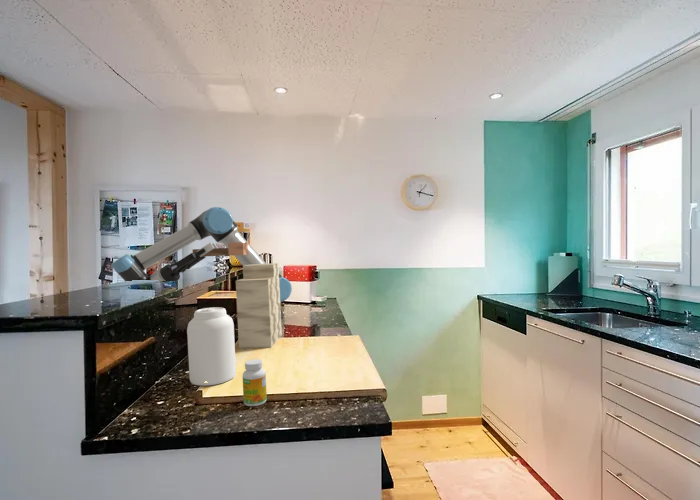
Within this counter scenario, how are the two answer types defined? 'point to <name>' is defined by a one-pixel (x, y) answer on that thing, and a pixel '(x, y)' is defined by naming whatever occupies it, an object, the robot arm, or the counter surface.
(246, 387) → the supplement bottle
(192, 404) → the counter surface
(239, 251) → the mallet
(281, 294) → the robot arm
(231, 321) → the white jar
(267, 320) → the stand
